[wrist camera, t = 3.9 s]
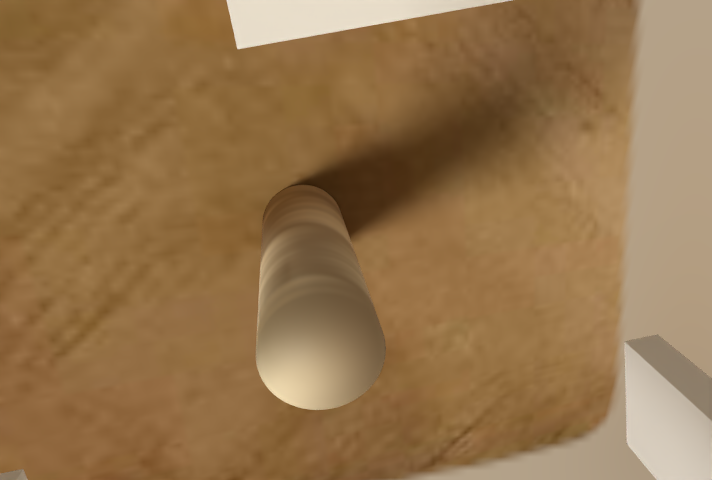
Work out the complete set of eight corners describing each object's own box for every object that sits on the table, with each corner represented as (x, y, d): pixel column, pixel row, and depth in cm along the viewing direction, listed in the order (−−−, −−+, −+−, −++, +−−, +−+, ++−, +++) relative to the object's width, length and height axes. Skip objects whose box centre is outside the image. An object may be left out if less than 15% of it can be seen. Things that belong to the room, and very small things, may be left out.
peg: (272, 266, 29) (270, 421, 18) (255, 192, 28) (242, 309, 17) (348, 251, 29) (394, 395, 18) (334, 177, 28) (374, 282, 17)
